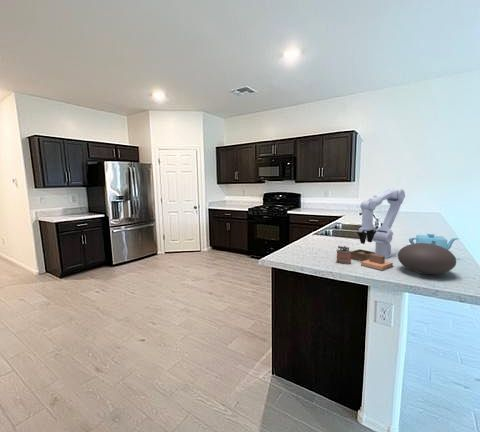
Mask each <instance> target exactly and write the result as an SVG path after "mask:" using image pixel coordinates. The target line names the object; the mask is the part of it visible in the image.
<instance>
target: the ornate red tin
mask: <svg viewBox="0 0 480 432" xmlns="http://www.w3.org/2000/svg"><path fill="white" fill-rule="evenodd" d="M335 263H337V264H340V265H341V264H342V265H352V259H351V250H350V247H349V246H345V245H343V246H341V245H338V246H337V249H336V262H335Z"/></svg>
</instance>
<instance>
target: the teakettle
mask: <svg viewBox="0 0 480 432" xmlns="http://www.w3.org/2000/svg"><path fill="white" fill-rule="evenodd" d="M459 239H460V238H459V237H454V238H453V237H452V238H451V239H449V240H448V239H446V237H444V236H441V235H440V236H438V235H436V234H434V233H426V235H425V234H422V235H421V234H416V236H415V237H409V239H408V242H409V243H410V244H415V243H428V244H434V245H438V246H441V247H443V248H445V249H447V250H449V251H450V249H451V248H452V246H453V244H454V241H456V240H457V241H458V240H459ZM414 240H415V241H414Z"/></svg>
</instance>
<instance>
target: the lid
mask: <svg viewBox="0 0 480 432" xmlns="http://www.w3.org/2000/svg"><path fill="white" fill-rule="evenodd" d="M385 259H386V258H385V256H381V255H377V254H370V256H369V260H365V261H360V266H361V265H363V266H362V267H364V266H367V267H366V268H368V267H372V268H376V269H380V270H383V269H386V268H388V267H391V266H394V265H393V264H394V263H393V262H392V261H386V260H385ZM372 268H371V269H372ZM376 269H375V270H376ZM380 270H379V271H380ZM386 270H387V269H386Z"/></svg>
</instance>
